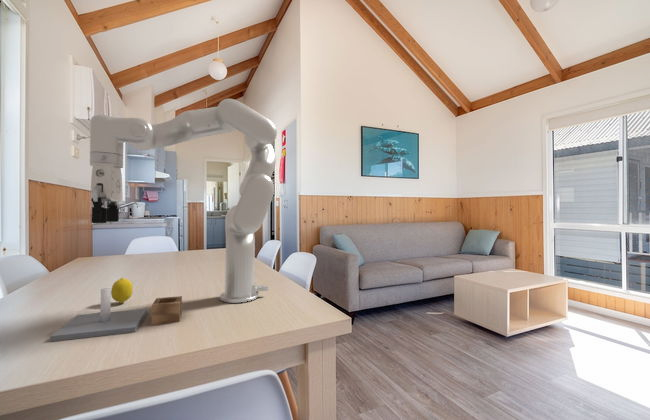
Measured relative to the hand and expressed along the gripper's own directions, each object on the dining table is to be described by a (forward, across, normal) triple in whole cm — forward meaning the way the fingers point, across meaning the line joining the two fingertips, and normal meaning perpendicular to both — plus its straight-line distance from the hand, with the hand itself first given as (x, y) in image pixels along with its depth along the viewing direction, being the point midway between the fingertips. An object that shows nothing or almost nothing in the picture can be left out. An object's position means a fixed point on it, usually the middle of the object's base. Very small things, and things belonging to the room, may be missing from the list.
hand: (106, 222), depth 82 cm
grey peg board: (+26, -9, -3) cm, 27 cm away
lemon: (+26, +10, -2) cm, 28 cm away
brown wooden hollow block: (+26, -9, -17) cm, 32 cm away
